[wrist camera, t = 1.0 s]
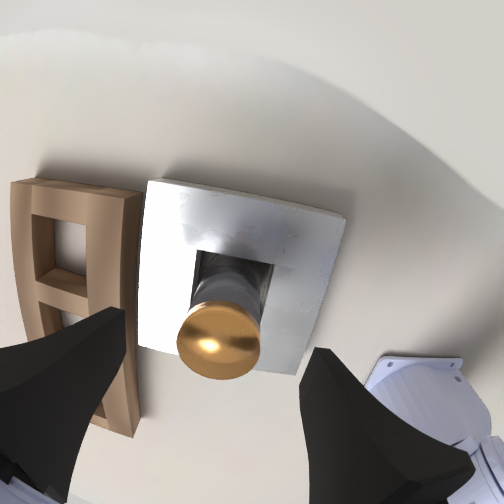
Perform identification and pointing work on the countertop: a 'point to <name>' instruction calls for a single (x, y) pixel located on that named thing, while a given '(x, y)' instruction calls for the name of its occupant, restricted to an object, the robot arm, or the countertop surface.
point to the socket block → (238, 245)
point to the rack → (74, 285)
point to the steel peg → (223, 320)
